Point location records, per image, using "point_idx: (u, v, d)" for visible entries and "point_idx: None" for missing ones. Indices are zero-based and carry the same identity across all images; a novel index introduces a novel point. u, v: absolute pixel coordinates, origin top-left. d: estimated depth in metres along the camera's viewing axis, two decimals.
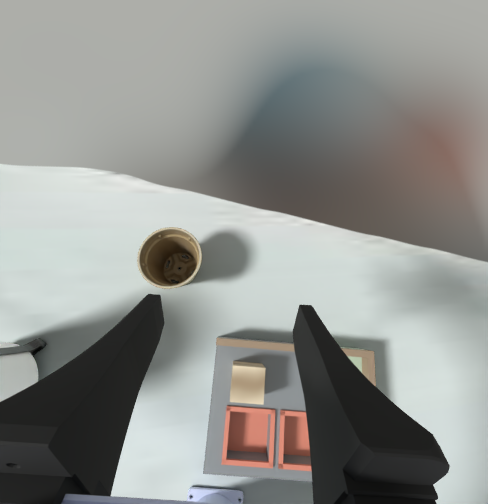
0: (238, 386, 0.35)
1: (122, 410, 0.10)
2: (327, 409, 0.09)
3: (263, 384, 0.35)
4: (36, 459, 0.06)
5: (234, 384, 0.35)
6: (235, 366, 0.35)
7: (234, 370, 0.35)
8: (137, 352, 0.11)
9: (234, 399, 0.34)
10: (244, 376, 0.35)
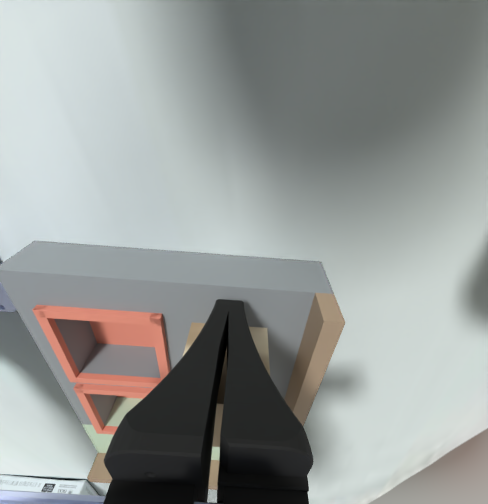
0: None
1: (214, 416, 0.10)
2: None
3: None
4: (179, 468, 0.06)
5: (218, 408, 0.12)
6: None
7: None
8: (220, 358, 0.11)
9: None
10: None
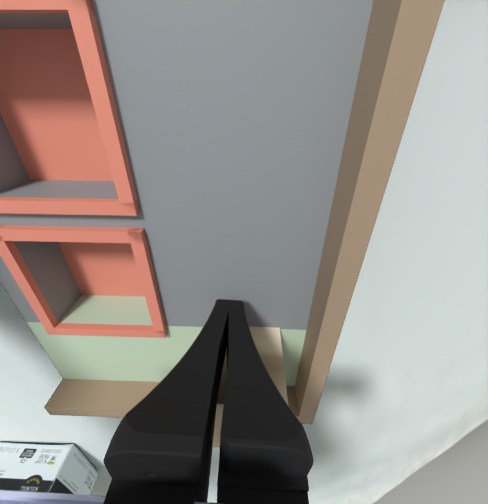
0: None
1: (214, 416, 0.10)
2: None
3: None
4: (179, 468, 0.06)
5: None
6: None
7: None
8: (220, 358, 0.11)
9: None
10: None
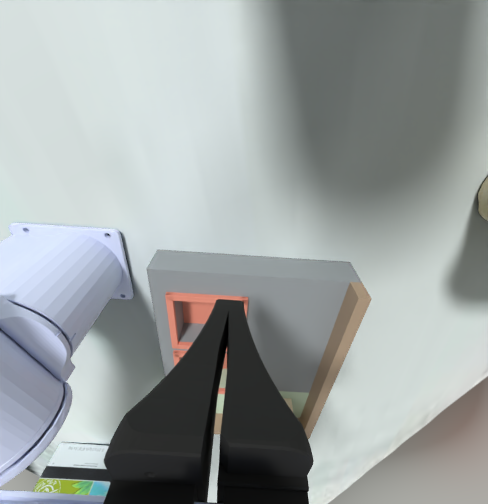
0: None
1: (214, 416, 0.10)
2: None
3: None
4: (179, 468, 0.06)
5: None
6: None
7: None
8: (220, 358, 0.11)
9: None
10: None
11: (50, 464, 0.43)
